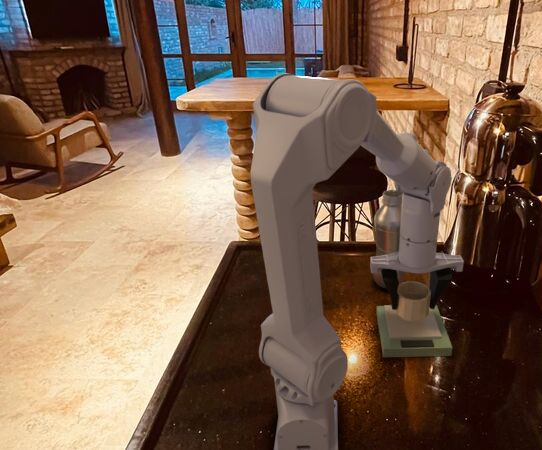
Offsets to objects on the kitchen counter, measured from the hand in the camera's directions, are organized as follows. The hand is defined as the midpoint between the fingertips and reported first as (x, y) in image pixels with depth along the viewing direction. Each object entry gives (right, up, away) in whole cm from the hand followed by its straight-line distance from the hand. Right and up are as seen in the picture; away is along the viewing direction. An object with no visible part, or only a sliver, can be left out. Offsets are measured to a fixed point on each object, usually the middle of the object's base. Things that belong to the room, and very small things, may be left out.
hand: (412, 305), depth 69 cm
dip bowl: (0, -1, +1) cm, 1 cm away
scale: (0, -5, +2) cm, 5 cm away
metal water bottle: (-2, +1, +15) cm, 15 cm away
